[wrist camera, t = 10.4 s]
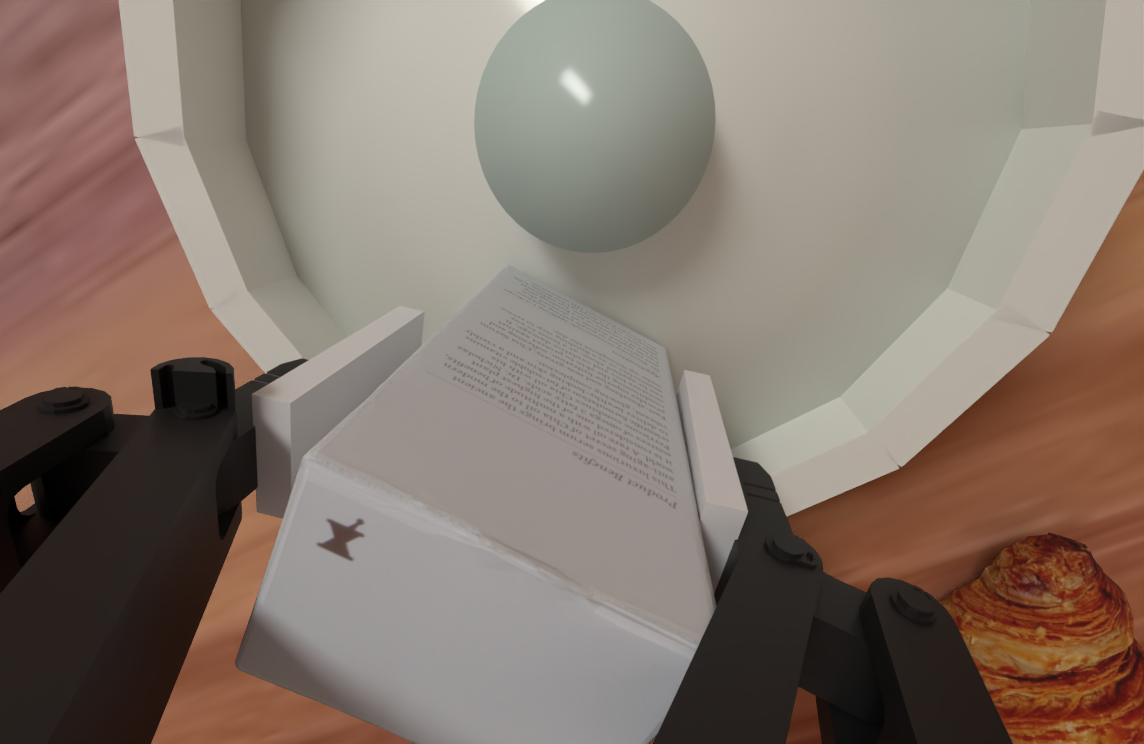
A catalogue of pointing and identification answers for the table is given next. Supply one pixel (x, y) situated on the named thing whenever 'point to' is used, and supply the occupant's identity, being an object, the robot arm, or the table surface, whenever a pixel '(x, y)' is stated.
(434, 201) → the ring tray
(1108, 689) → the croissant
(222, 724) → the table surface
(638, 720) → the skincare box
